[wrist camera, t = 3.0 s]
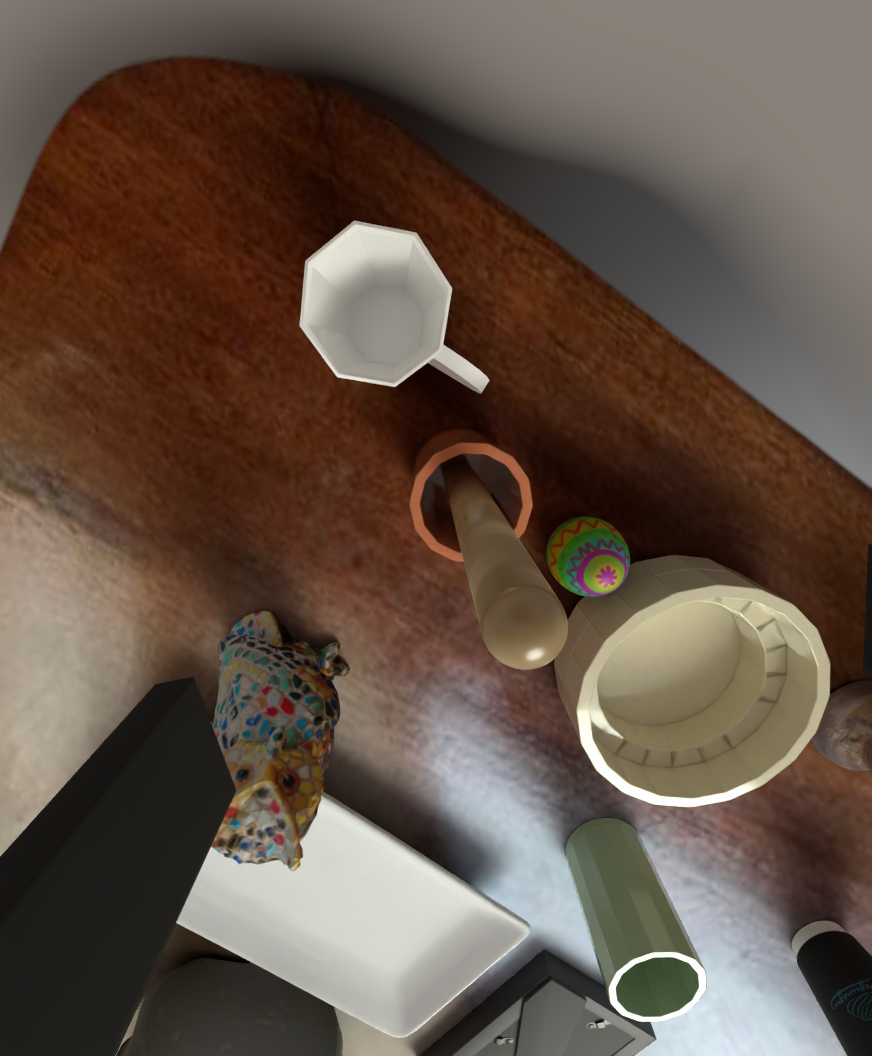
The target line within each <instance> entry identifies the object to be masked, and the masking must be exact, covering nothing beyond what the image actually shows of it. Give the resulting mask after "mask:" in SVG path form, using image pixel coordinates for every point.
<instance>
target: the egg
mask: <svg viewBox="0 0 872 1056" xmlns="http://www.w3.org/2000/svg"><path fill="white" fill-rule="evenodd" d="M546 558H547V563H548V566H549V569H550V571H551V573H552V575H553V576H554V578H555V579H556V580H557V581H558V582H559V583H560V584H561V585H562V586H563V587H564V588H566V589H567V590H569V591H571V592H573V593H575V594H578V595H581V596H586V597H600V596H604V595H607V594H610V593H612V592H613V591H615V590H616V589H618V588H619V587H620V586H621V585H622V583H623V582H624V581H625V579H626V577H627V575H628V572H629V568H630V554H629V550H628V546H627V544H626V542H625V540H624V538H623V537H622V535H621V534H620V533H619V532H618V531H617V530H616V529H615V528H614V527H613V526H612V525H610V524H609V523H607V522H605V521H603V520H601V519H598V518H595V517H588V516H582V517H575V518H572V519H569V520H567V521H565V522H563V523H562V524H561V525H559V526H558V527H557V528H556V529H555V530H554V532H553V533H552V535H551V536H550V538H549V541H548V544H547V549H546Z"/></svg>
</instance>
